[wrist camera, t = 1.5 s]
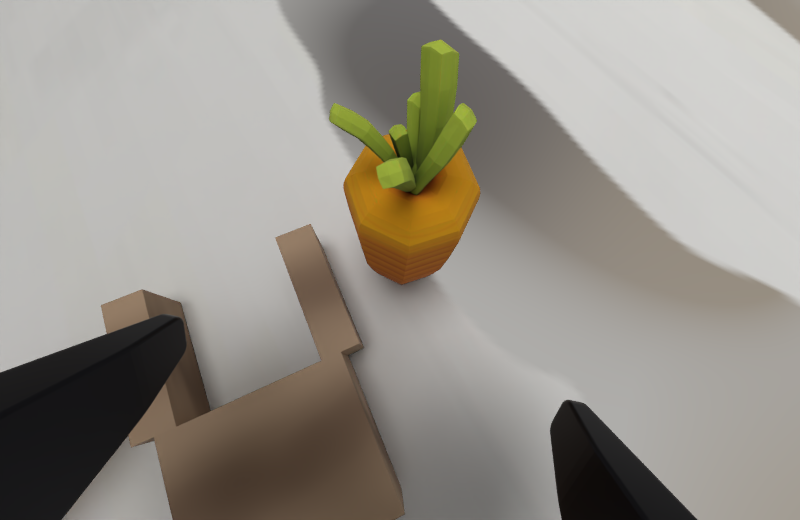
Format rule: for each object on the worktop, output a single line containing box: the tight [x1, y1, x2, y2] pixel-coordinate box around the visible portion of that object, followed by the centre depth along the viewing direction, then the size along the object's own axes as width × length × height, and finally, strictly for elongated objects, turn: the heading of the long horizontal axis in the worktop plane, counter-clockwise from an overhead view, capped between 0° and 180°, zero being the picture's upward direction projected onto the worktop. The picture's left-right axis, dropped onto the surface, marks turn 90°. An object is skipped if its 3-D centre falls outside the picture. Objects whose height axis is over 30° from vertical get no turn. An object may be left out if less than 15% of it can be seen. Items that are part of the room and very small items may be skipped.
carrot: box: [329, 40, 480, 285], centre depth 15 cm, size 5×5×15 cm
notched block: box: [101, 224, 405, 520], centre depth 18 cm, size 14×11×4 cm
